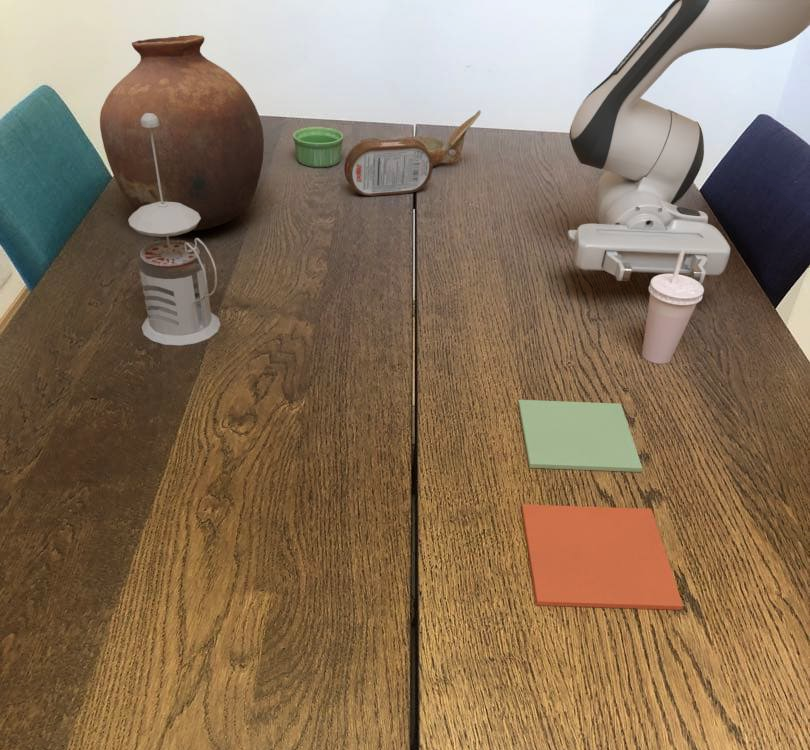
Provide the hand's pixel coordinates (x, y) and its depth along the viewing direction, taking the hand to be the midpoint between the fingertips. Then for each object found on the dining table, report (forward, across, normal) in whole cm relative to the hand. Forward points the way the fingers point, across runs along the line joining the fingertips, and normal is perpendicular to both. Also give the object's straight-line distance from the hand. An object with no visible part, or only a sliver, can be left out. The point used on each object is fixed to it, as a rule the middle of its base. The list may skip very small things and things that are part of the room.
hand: (661, 277), depth 104 cm
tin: (-44, -35, +8) cm, 56 cm away
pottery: (-28, -65, +7) cm, 72 cm away
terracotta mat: (+44, -14, +8) cm, 46 cm away
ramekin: (-58, -48, +7) cm, 75 cm away
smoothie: (+6, 0, +8) cm, 10 cm away
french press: (+4, -60, +8) cm, 61 cm away
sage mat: (+24, -13, +8) cm, 29 cm away
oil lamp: (-58, -30, +8) cm, 66 cm away
